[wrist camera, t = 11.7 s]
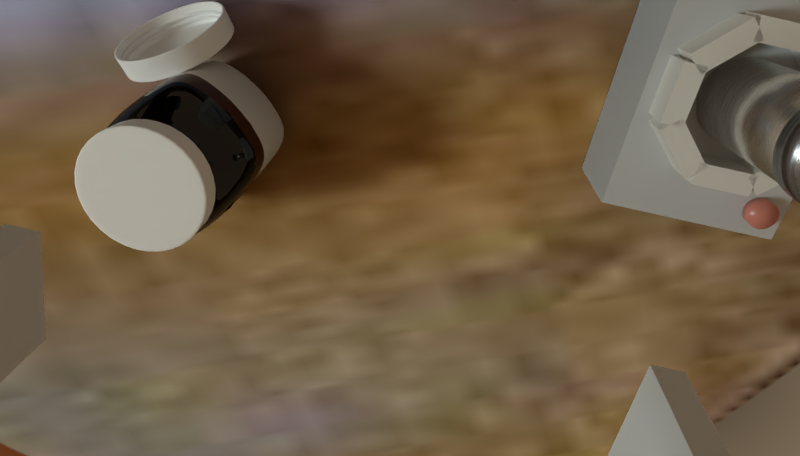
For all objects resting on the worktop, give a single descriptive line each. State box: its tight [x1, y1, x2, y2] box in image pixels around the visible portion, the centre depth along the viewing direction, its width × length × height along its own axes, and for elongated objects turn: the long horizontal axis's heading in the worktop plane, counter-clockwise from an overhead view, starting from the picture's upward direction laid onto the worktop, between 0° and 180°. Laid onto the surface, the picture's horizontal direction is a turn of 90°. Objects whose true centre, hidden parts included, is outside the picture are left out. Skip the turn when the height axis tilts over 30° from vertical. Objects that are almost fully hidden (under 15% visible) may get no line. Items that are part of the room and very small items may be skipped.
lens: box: [696, 57, 800, 203], centre depth 28 cm, size 5×5×10 cm
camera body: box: [582, 0, 800, 240], centre depth 34 cm, size 14×10×8 cm
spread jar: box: [75, 1, 284, 252], centre depth 36 cm, size 12×11×12 cm
